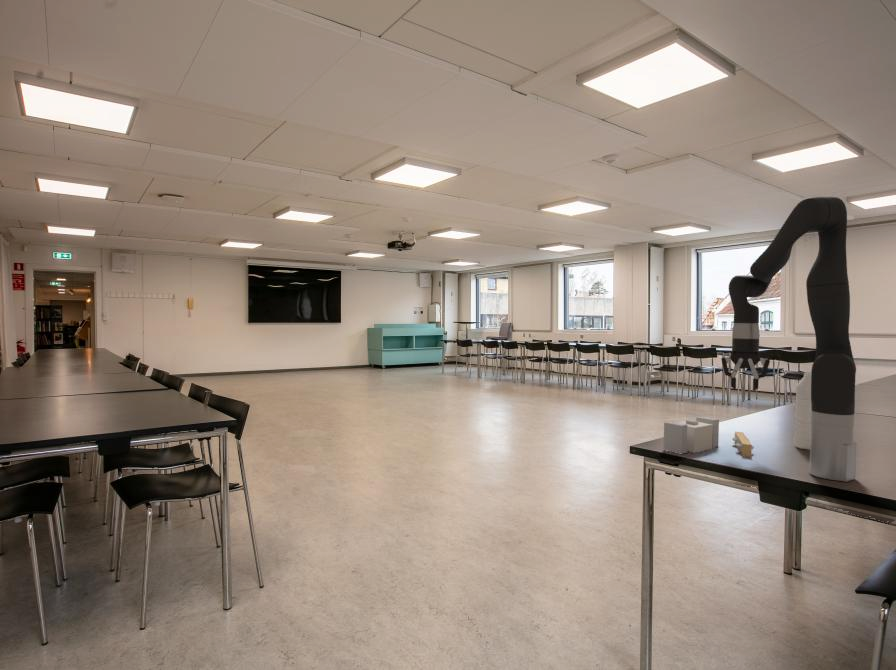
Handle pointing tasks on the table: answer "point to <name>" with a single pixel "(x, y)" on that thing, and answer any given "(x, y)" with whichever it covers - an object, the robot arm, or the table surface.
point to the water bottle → (803, 413)
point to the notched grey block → (691, 435)
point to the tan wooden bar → (743, 444)
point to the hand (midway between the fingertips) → (744, 389)
